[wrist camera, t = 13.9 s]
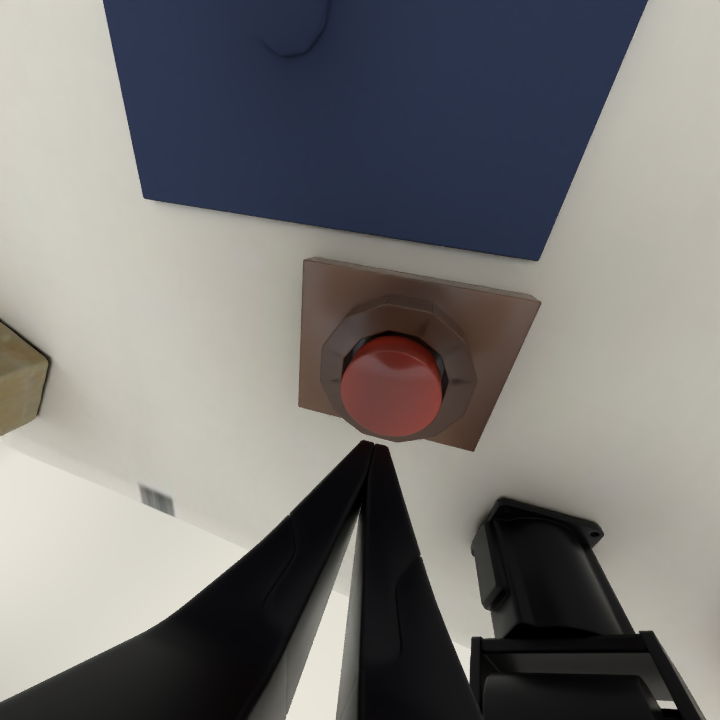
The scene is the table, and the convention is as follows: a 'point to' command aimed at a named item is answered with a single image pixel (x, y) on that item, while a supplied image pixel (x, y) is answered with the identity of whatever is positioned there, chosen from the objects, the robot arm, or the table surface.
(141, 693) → the robot arm
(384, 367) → the button
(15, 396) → the caddy
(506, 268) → the table surface
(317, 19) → the milkshake
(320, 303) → the button block
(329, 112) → the pad
